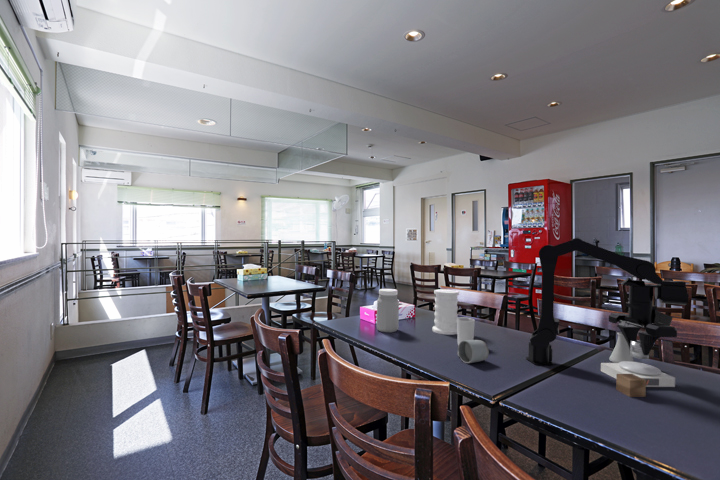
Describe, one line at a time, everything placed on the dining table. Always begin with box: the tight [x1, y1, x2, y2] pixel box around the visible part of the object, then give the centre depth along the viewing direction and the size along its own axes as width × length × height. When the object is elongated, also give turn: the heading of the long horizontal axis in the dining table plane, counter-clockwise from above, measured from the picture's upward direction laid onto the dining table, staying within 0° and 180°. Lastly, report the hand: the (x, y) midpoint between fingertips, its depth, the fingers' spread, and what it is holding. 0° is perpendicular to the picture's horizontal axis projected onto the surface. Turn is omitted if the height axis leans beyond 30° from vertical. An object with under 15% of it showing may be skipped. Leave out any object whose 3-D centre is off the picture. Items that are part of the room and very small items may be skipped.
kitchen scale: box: [600, 361, 676, 388], centre depth 107 cm, size 13×12×4 cm
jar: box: [376, 288, 400, 333], centre depth 158 cm, size 10×10×18 cm
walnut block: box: [615, 374, 647, 398], centre depth 97 cm, size 4×4×4 cm
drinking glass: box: [456, 316, 476, 346], centre depth 138 cm, size 7×7×10 cm
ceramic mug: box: [457, 339, 490, 364], centre depth 121 cm, size 10×8×7 cm
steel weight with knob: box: [629, 339, 650, 360], centre depth 107 cm, size 4×4×5 cm
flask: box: [608, 331, 635, 363], centre depth 122 cm, size 7×7×10 cm
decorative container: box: [431, 288, 460, 336], centre depth 158 cm, size 12×12×18 cm
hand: (639, 352), depth 107 cm, fingers closed on steel weight with knob, 4 cm apart
